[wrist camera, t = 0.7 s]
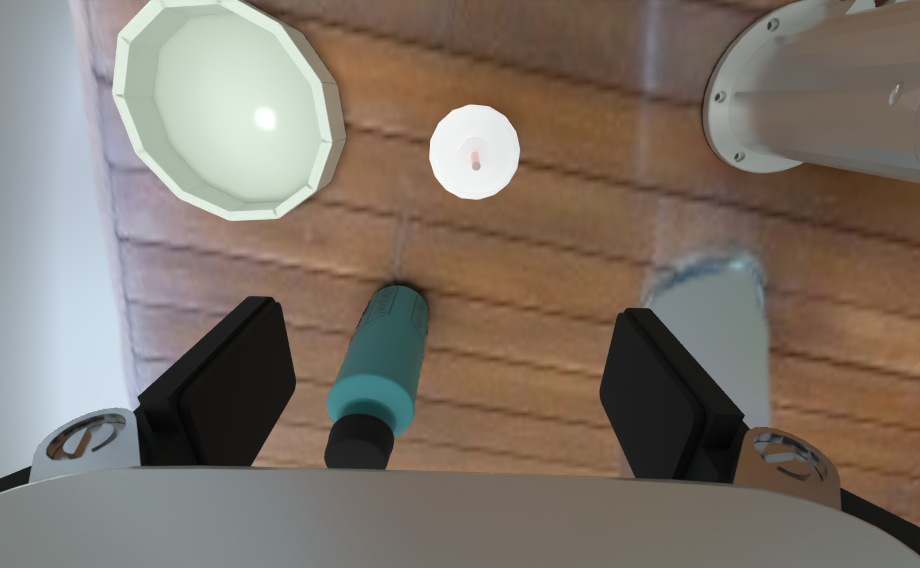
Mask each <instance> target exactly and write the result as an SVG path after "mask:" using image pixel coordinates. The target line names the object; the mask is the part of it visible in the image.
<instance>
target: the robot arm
mask: <svg viewBox="0 0 920 568" xmlns="http://www.w3.org/2000/svg"><path fill="white" fill-rule="evenodd" d="M874 1H875V0H845V1H840V0H802V1H798V2H795V3H791V4H788V5H786V6H783V7H780V8H778V9H775V10H773V11H771V12H770V13H768V14H766V15H765V16H763V17H761V18H759V19H758V20H757V21H755V22H754V23H753V24H752V25H750V26H749V27H748V28H747V29H745V30H744V31H743V32H742V33H741V34H740V35H739V36H738V37H737V38H736V40H735V41H734V42H733V43H732V44H731V45H730V46H729V48H728V49H727V50H726V52H725V53H724V55H723V56H722V57H721V59H720V60H719V62H718V64H717V66H716V68H715V70H714V72H713V74H712V76H711V78H710V81H709V84H708V87H707V90H706V93H705V98H704V105H703V126H704V131H705V135H706V139H707V141H708V143H709V145H710V147H711V149H712V150H713V151H714V153H715V154H716V155H717V156H718V157H719V158H720V159H721V160H722V161H724V162H725V163H727V164H728V165H730V166H732V167H735V168H737V169H740V170H743V171H748V172H752V173H773V172H780V171H783V170H787V169H790V168H793V167H796V166H798V165H800V164H802V163H805V162H806V163H811V164H817V165H822V166H828V167H833V168H838V169H844V170H849V171H855V172H860V173H865V174H871V175H876V176H882V177H887V178H892V179H898V180H903V181H908V182H914V183H919V184H920V0H886V1H885V2H884V4H883V5H882V6H880V7H875V5H876V4H875V2H874ZM767 25H768V27H767ZM716 95H717V98H716V99H715V96H716ZM295 386H296V378H295V373H294V367H293V362H292V357H291V352H290V347H289V342H288V337H287V332H286V327H285V322H284V317H283V312H282V307H281V305H280V303H279V302H275V300H274V299H273V298H272V297H260V296H249V297H247V298H246V299H245V300H244V301H243V302H241V303H240V304H239V305H238V306H237V307H236V308H235V309H234V310H233V311H232V312H230V313H229V314H228V315H227V316H226V317H225V318H224V319H223V320H222V321H221V322H219V323H218V324H217V325H216V326H215V327H214V328H213V329H212V330H211V331H210V332H209V333H207V334H206V335H205V336H204V337H203V338H202V339H201V340H200V341H199V342H198V343H196V344H195V345H194V346H193V347H192V348H191V349H190V350H189V351H188V352H187V353H185V354H184V355H183V356H182V357H181V358H180V359H179V360H178V361H177V362H176V363H174V364H173V365H172V366H171V367H170V368H169V369H168V370H167V371H166V372H165V373H163V374H162V375H161V376H160V377H159V378H158V379H157V380H156V381H155V382H154V383H152V384H151V385H150V386H149V387H148V388H147V389H146V390H145V391H144V392H143V393H142V394H140V395H139V396H138V397H137V398H138V400H139V402H140V404H141V405H140V406H139V407H138V408H137V409H136V410H135V411H134V412H132V411H130V410H128V409H123V408H111V409H103V410H99V411H95V412H92V413H88V414H86V415H84V416H81V417H79V418H76V419H74V420H72V421H70V422H68V423H67V424H65V425H63V426H61V427H59V428H58V429H57V430H55V431H54V432H53V433H51V434H50V435H48V436H47V437H46V438H45V439H44V440H43V441H42V443H41V444H40V445H39V446H38V448H37V450H36V452H35V454H34V457H33V463H32V466H29V467H27V468H25V469H22V470H20V471H17V472H15V473H12V474H10V475H8V476H5V477H3V478H0V568H920V527H918V526H916V525H914V524H912V523H910V522H908V521H906V520H904V519H902V518H900V517H898V516H896V515H894V514H892V513H890V512H888V511H886V510H884V509H882V508H880V507H878V506H876V505H874V504H872V503H870V502H868V501H866V500H864V499H862V498H860V497H858V496H856V495H854V494H852V493H850V492H848V491H846V490H844V489H842V488H840V478H839V475H838V472H837V469H836V468H835V466H834V465H833V464H832V462H831V461H830V460H829V459H828V458H827V457H826V456H825V455H824V454H823V453H822V452H821V451H819V450H818V449H817V448H815V447H814V446H812V445H811V444H809V443H808V442H806V441H805V440H803V439H801V438H799V437H796V436H794V435H792V434H790V433H787V432H784V431H781V430H778V429H774V428H768V427H755V428H753V429H749V427H748V426H747V425H746V424H745V423H744V422H743V421H742V420H743V418H744V416H745V415H744V414H743V413H742V412H741V411H740V409H739V408H738V407H737V406H736V405H735V404H734V403H733V401H732V400H731V399H730V398H729V397H728V396H727V395H726V394H725V392H724V391H723V390H722V389H721V388H720V387H719V386H718V385H717V383H715V381H714V380H713V379H712V378H711V377H710V376H709V374H708V373H707V372H706V371H705V370H704V369H703V368H702V367H701V365H700V364H699V363H698V362H697V361H696V360H695V359H694V358H693V357H692V355H691V354H690V353H689V352H688V351H687V350H686V349H685V347H684V346H683V345H682V344H681V343H680V342H679V341H678V340H677V338H676V337H675V336H674V335H673V334H672V333H671V332H670V331H669V329H668V328H667V327H666V326H665V325H664V324H663V323H662V322H661V320H660V319H659V318H658V317H657V316H656V315H655V314H654V313H653V311H652V310H650V309H649V308H627V309H625V311H624V313H619V314H618V316H617V319H616V323H615V328H614V332H613V336H612V340H611V344H610V348H609V353H608V357H607V361H606V365H605V369H604V373H603V378H602V382H601V386H600V400H601V403H602V405H603V407H604V409H605V412H606V414H607V416H608V418H609V420H610V423H611V425H612V427H613V429H614V432H615V434H616V436H617V438H618V440H619V443H620V445H621V447H622V449H623V451H624V454H625V456H626V458H627V460H628V462H629V465H630V467H631V469H632V471H633V474H634V476H635V478H624V477H598V476H569V475H540V474H512V473H480V472H447V471H412V470H376V469H336V468H293V467H251V465H252V463H253V462H254V460H255V458H256V456H257V455H258V453H259V451H260V450H261V448H262V446H263V444H264V443H265V441H266V439H267V438H268V436H269V434H270V432H271V431H272V429H273V427H274V426H275V424H276V422H277V420H278V419H279V417H280V415H281V414H282V412H283V410H284V408H285V407H286V405H287V403H288V402H289V400H290V398H291V396H292V395H293V393H294V390H295Z"/></svg>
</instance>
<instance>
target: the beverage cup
mask: <svg viewBox="0 0 920 568" xmlns="http://www.w3.org/2000/svg"><path fill="white" fill-rule="evenodd" d="M519 154H520V147H519V143H518V138H517V134H516V131H515V129H514V128H513V127H512V125H511V124H510V122H509V121H508V119H507V118H506V117H505V116H504V115H502V114H501V113H499V112H497V111H496V110H494V109H492V108H491V107H489V106H480V105H471V104H470V105H467V106H464V107H461V108H458V109H455V110H453V111H452V112H450V113H449V114H448V115H447V116H446V117H445V118H444V119H443V120H442V121H440V122H439V123H438V126H437V128H436V130H435V132H434V134H433V136H432V138H431V141H430V157H429V159H430V163H431V166H432V169H433V172H434V175H435V177H436V178H437V179H438V181H439V182H440V183H441V184H442V185H443V187H444V188H445V189H446V190H447V191H449V192H451V193H453V194H455V195H457V196H459V197H460V198H467V199H477V200H478V199H482V198H485V197H489V196H492V195H495V194H496V193H497V192H498V191H500V190H501V189H502V188H504V187H505V186H506V185H507V184H508V183H509V181H510V180H511V178H512V176H513V175H514V173H515V171H516V169H517V166H518V160H519Z"/></svg>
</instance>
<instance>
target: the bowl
mask: <svg viewBox="0 0 920 568" xmlns="http://www.w3.org/2000/svg"><path fill="white" fill-rule="evenodd" d="M112 93H113V97H114V100H115V102H116V105H117V108H118V110H119V113H120V115H121V118H122V120H123V123H124V125H125V128H126V130H127V133H128V135H129V138H130V140H131V143H132V145H133V148H134V150H135V153H137V155H138V156H139V157H140V158H141V159H142V160H143V161H144V162H145V164H146V165H147V166H148V167H149V168H150V169H151V170H152V171H153V172H154V173H155V174H156V175H157V176H158V177H159V178H160V179H161V180H162V181H163V182H164V183H165V184H166V185H167V186H168V187H169V189H170V190H171V191H172V192H173V193H174V194H175V195H176V196H177V197H178V198H179V199H182V200H184V201H186V202H188V203H191V204H193V205H195V206H197V207H200V208H202V209H204V210H206V211H209V212H211V213H213V214H215V215H218V216H220V217H222V218H224V219H227V220H230V221H237V220H259V219H278V218H280V217H282V216H283V215H285V214H286V213H288V212H290V211H291V210H293V209H294V208H296V207H297V206H299V205H300V204H301V203H303V202H304V201H306V200H307V199H308V198H310V197H311V196H312V195H314V194H315V193H317V192H318V191H319V190H321V189H322V188H324V187H325V186H326V185H328V184H329V183H330V182H331V180H332V178H333V175H334V172H335V169H336V166H337V164H338V161H339V158H340V155H341V152H342V150H343V147H344V144H345V141H346V132H345V126H344V120H343V114H342V108H341V102H340V96H339V90H338V84H337V82H336V81H335V80H334V78H333V77H332V75H331V74H330V72H329V71H328V70H327V68H326V67H325V65H324V64H323V62H322V61H321V59H320V58H319V57H318V55H317V54H316V52H315V51H314V49H313V48H312V46H311V45H310V44H309V42H308V41H307V39H306V38H305V36H304V35H303V34H302V33H301V32H300V31H298V30H296V29H294V28H293V27H291V26H289V25H287V24H285V23H284V22H282V21H280V20H278V19H276V18H275V17H273V16H271V15H269V14H267V13H266V12H264V11H262V10H260V9H258V8H257V7H255V6H253V5H251V4H250V3H247V2H245V1H243V0H150V1H149V2H148V4H147V5H146V6H145V7H144V8H143V9H142V10H141V11H140V12H139V13H138V14H137V15H136V16H135V17H134V18H133V19H132V20H131V21H130V22H129V23H128V24H127V25H126V26H125V27H124V28H123V29H122V30H121V32H120V33H119V35H118V40H117V50H116V60H115V70H114V80H113V90H112Z"/></svg>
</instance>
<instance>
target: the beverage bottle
mask: <svg viewBox="0 0 920 568" xmlns="http://www.w3.org/2000/svg"><path fill="white" fill-rule="evenodd" d="M373 295H374V294H373ZM373 295H372V296H373ZM372 296H371V297H372ZM368 302H369V303H368V305H367V307H366V308H365V309H366V310H364V311H365V312H363V315H364V316H363V315H362V316H363V318H362V317H361V319H362V320H361V319H360V321H361V323H360V321H359V323H360V325H359V323H358V325H359V327H358V326H357V327H356V329H357V328H358V329H357V331H355V333H354V334H355V336H354V338H353V340H352V343H351V345H350V347H349V349H348V352H347V355H346V357H345V356H344V357H345V360H344V362H343V364H342V366H341V369H340V371H339V373H338V376H337V378H336V380H335V382H334V385H333V386H332V388H331V390H330V391H329V394H328V397H327V402H326V406H327V412H328V415H329V417H330V419H331V421H332V422H333V424H334V425H333V427H332V429H331V431H330V434H329V439H328V443H327V447H326V450H325V456H324V459H325V463H326V466H327V467H328V468H336V469H376V470H385V469H386V466H387V463H388V460H389V457H390V454H391V452H392V449H393V445H394V437H397V436H398V435H400V434H401V433H403V432H404V431H405V430H406V429H407V428H408V427H409V425H410V424H411V422H412V420H413V416H414V410H415V399H416V393H417V387H418V380H419V377H420V376H419V374H420V369H421V364H422V358H423V359H424V357H423V354H424V353H423V351H424V344H425V337H426V334H427V335H428V332H426V330H427V328H428V327H429V326H428V327H427V323H428V322H429V321H428V309H429V308H427V305H426V302H425V301H424V299H423V298H422V297H421V296H420V295H419V294H418V293H417V292H416V291H414V290H412V289H410V288H408V287H404V286H390V287H386V288H383V289H381V290H380V291H379V292H378V291H377V293H376V294H375V295H374V296H373V297H372V299H371V300H370V301H368ZM429 313H430V312H429ZM429 319H430V318H429ZM352 337H353V336H352ZM426 341H427V340H426ZM350 342H351V341H350ZM349 344H350V343H349ZM346 350H347V349H346ZM345 353H346V352H345ZM421 372H422V371H421ZM420 375H421V374H420Z"/></svg>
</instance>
